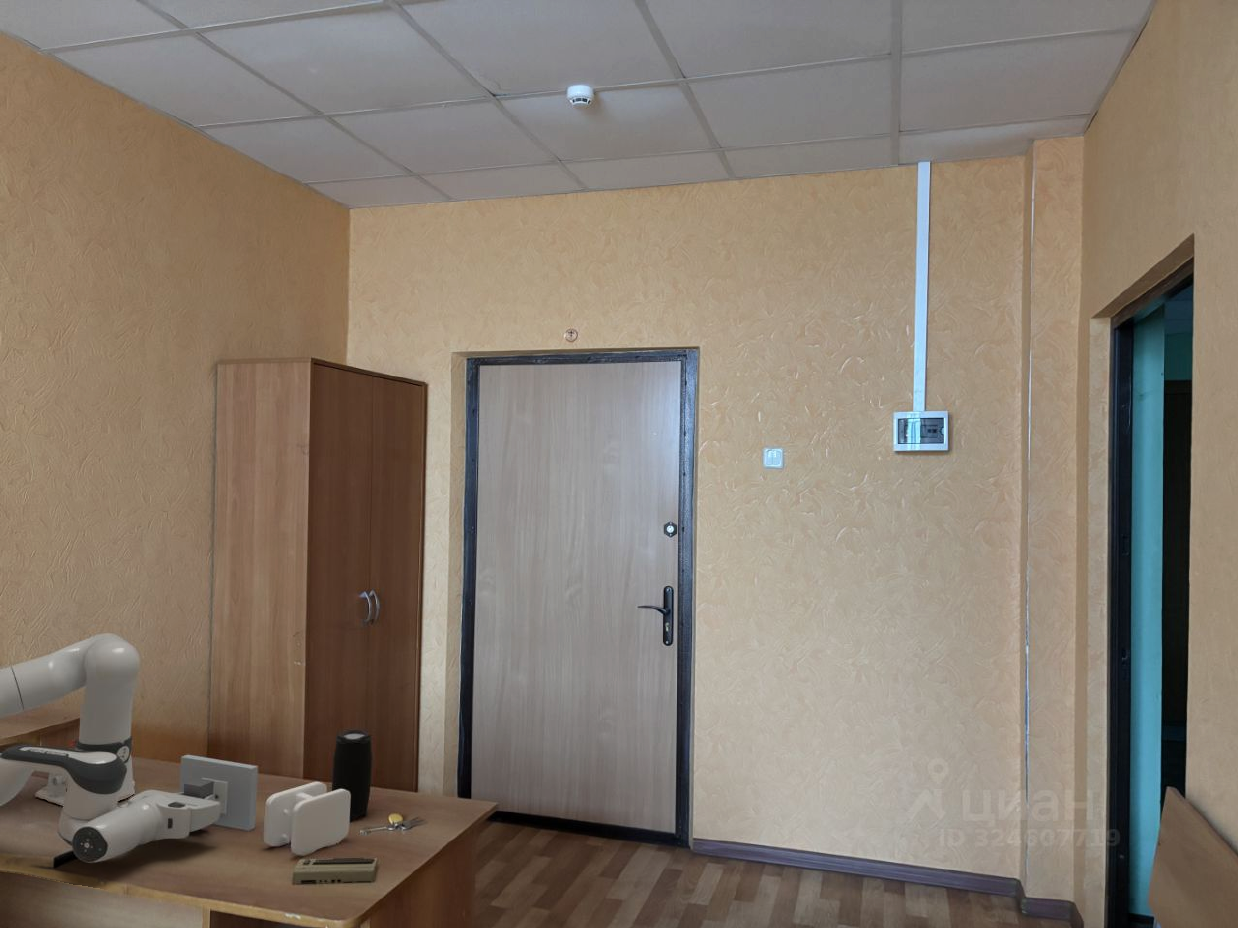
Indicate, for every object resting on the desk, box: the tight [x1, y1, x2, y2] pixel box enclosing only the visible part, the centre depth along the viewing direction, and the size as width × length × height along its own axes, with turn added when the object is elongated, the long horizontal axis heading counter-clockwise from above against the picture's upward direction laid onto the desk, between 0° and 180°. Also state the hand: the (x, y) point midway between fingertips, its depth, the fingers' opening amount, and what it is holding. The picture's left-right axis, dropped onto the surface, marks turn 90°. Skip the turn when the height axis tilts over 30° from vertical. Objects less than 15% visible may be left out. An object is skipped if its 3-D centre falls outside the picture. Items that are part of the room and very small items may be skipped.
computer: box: [291, 857, 379, 885], centre depth 182 cm, size 16×8×3 cm, turn 99°
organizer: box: [263, 781, 351, 857], centre depth 197 cm, size 15×11×12 cm
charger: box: [183, 778, 214, 799], centre depth 201 cm, size 4×5×9 cm
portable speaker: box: [331, 728, 373, 822], centre depth 214 cm, size 9×9×20 cm
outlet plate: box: [178, 754, 259, 832], centre depth 206 cm, size 20×2×14 cm, turn 73°
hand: (201, 796), depth 201 cm, fingers closed on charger, 4 cm apart
